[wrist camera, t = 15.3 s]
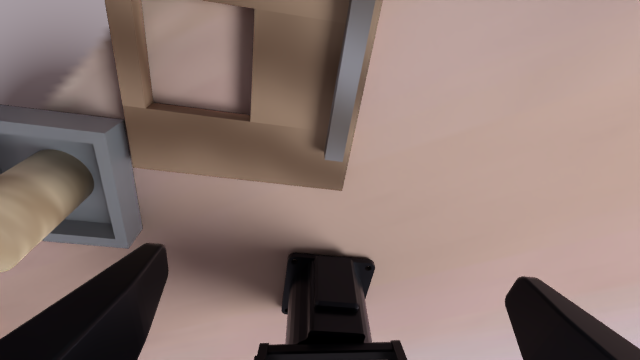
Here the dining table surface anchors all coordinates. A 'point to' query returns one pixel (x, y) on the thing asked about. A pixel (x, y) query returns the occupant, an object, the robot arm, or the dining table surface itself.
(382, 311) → the dining table surface
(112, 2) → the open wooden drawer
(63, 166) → the maple peg
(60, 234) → the slate tray
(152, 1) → the dining table surface
